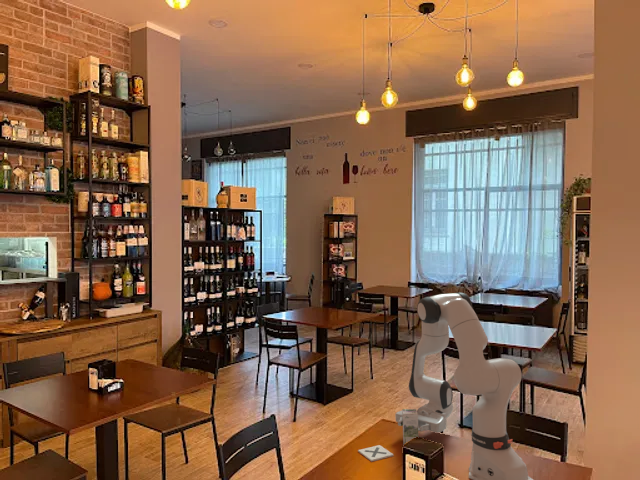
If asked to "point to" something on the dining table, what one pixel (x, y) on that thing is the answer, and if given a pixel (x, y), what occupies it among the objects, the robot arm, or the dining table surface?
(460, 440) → the dining table surface
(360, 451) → the letter card
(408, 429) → the syrup box
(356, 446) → the dining table surface
